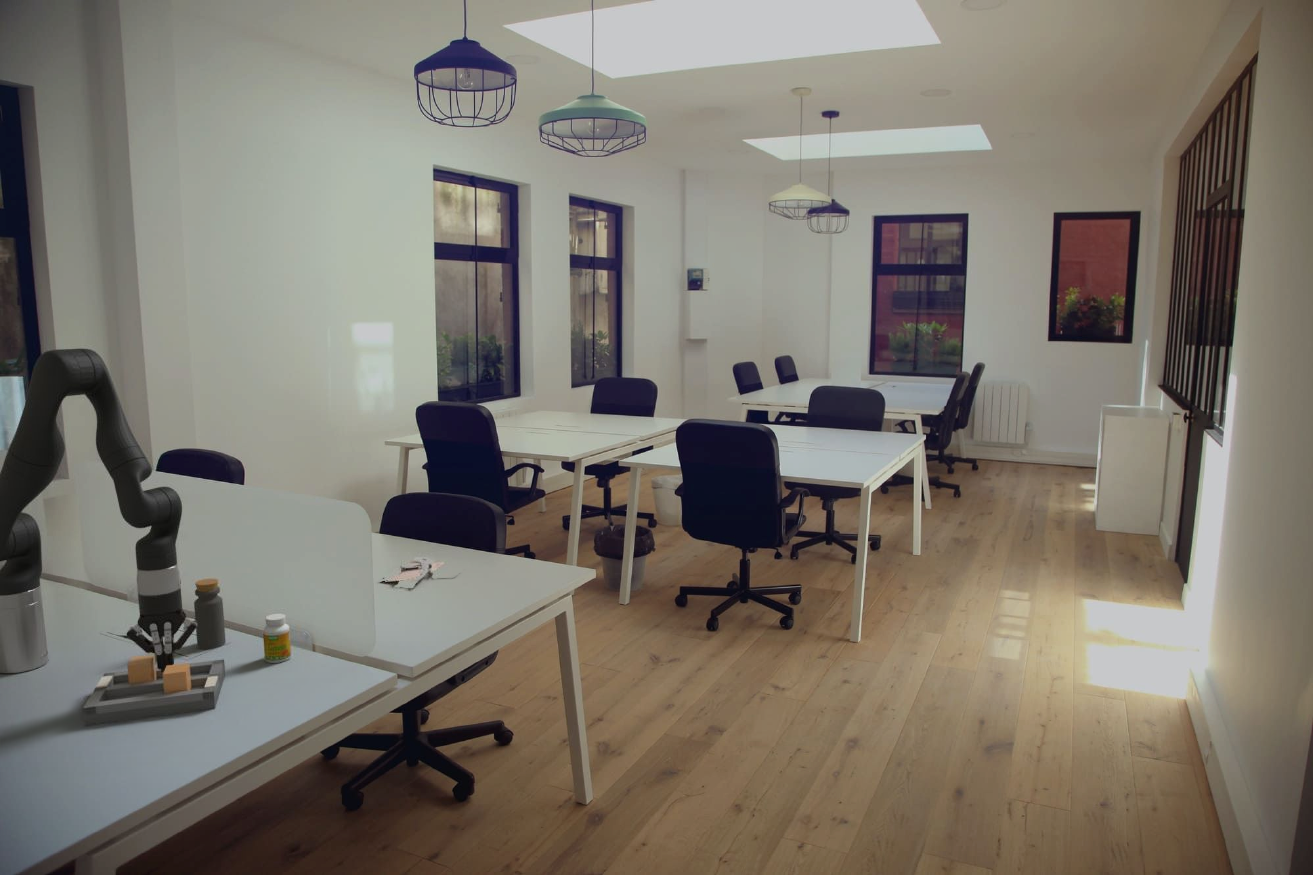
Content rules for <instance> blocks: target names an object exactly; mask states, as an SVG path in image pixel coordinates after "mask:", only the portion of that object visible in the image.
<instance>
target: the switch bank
mask: <svg viewBox="0 0 1313 875" xmlns="http://www.w3.org/2000/svg"><path fill="white" fill-rule="evenodd" d="M188 663H189V664H190V676H191V689H190V690H188V691H180V692H172V693H164V684H163V673H164V672H161V669H158V668H157V666H156V676H157V678H156V680H155V681H151V682H143V683H134V684H129V677H128V670H122V671H115V672H114V671H113V672H105V673H104V674H103V675H102V676H101V679H100V680H99V682H98V683H97V684H96V686H95V688H94V689H93V691H92V693H91V694H90V695H89V697H88V698H87V701H86V703H85V704H84V706H83V707H82V711H83V722H84V726H91V725H100V724H107V723H108V724H109V723H114V722H121V721H123V722H124V721H130V720H137V719H145V718H152V717H159V716H165V715H166V716H167V715H174V714H181V713H182V714H183V713H190V712H197V711H205V710H213V709H216V707H217V704H218V700H219V697H220V693H221V690H222V687H223V684H224V680H225V678H226V667H225V659H216V660H208V661H207V660H206V661H199V662H198V661H197V662H188Z"/></svg>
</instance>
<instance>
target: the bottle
mask: <svg viewBox="0 0 1313 875" xmlns="http://www.w3.org/2000/svg"><path fill="white" fill-rule="evenodd" d="M218 585H219V579H218V578H205V579H200V580H197V581H195V587H196V589H195V590H194V594H195V596H196V597H197V599H195V600H194V602H193V606H194V610H193V611H194V621H197V623H198V624H197V627H196V629H195V632H196V634H195V635H196V645H197V648H199V649H201V650H202V649H203V650H208V649H215V648H219V647H222V646H223V645H225V644H226V629H225V627H226V626H225V616H224V602H223V598H222V597H221V596H220V595H218V594H219V593H221V588H220V586H218Z"/></svg>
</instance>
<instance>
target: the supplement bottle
mask: <svg viewBox="0 0 1313 875" xmlns="http://www.w3.org/2000/svg"><path fill="white" fill-rule="evenodd" d="M286 621H287V620H286V615H285V614H283V613H274V614H269V615H267V616H266V617H265V625H266V626H265V627H264V628H263V630H262V634H263V635H262V636H263V637H262V638H263V649H264V650H263V653H264V660H265V662H266V663H269V664H279V663H284V662H286V661H288V660H290V659H291V657H292V649H291V647H292V646H291V634H290V633H291V631H290V629H291V628H290V625H289V624H287V623H286Z"/></svg>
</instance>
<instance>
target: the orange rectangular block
mask: <svg viewBox="0 0 1313 875" xmlns="http://www.w3.org/2000/svg"><path fill="white" fill-rule="evenodd" d="M155 656H156V654H149V655H146V654H145V655H140V656H139V655H138V656H132V657H131V658H130V660H129V662H128V663H127V671H128V677H129V684H134V683H143V682H151V681H155V680H156V678H157V676H156V667H157V664H156V657H155Z"/></svg>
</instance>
